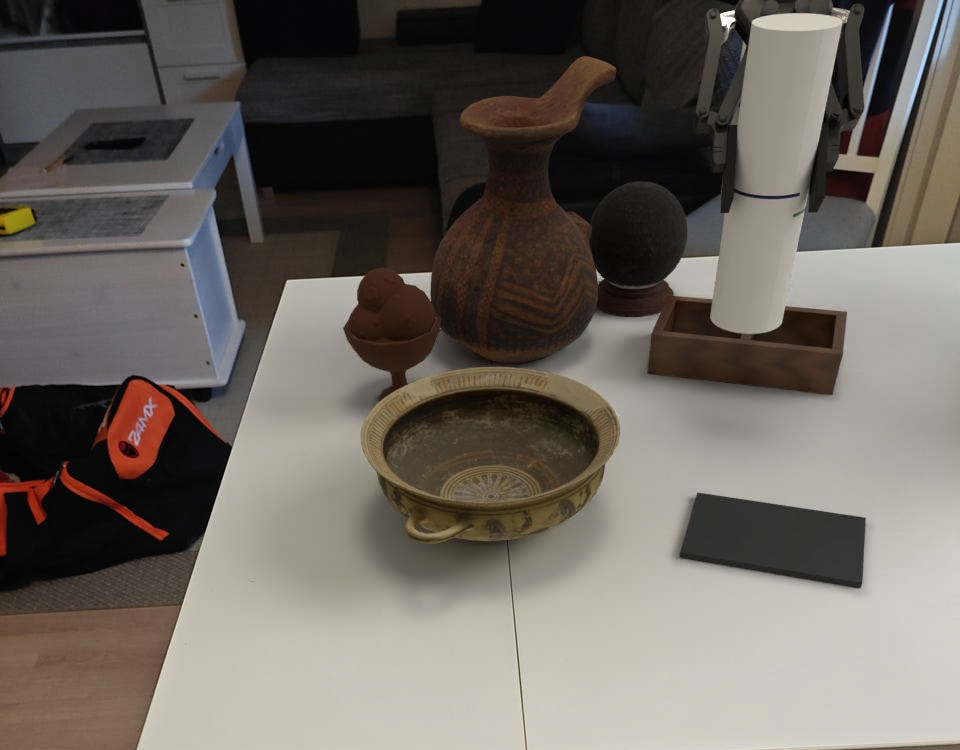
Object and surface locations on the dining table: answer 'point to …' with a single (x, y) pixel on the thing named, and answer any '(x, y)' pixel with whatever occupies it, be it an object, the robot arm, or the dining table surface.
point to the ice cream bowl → (392, 325)
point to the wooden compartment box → (749, 348)
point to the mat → (776, 539)
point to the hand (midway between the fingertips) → (771, 204)
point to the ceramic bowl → (489, 451)
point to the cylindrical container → (773, 166)
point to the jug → (520, 232)
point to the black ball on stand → (637, 247)
